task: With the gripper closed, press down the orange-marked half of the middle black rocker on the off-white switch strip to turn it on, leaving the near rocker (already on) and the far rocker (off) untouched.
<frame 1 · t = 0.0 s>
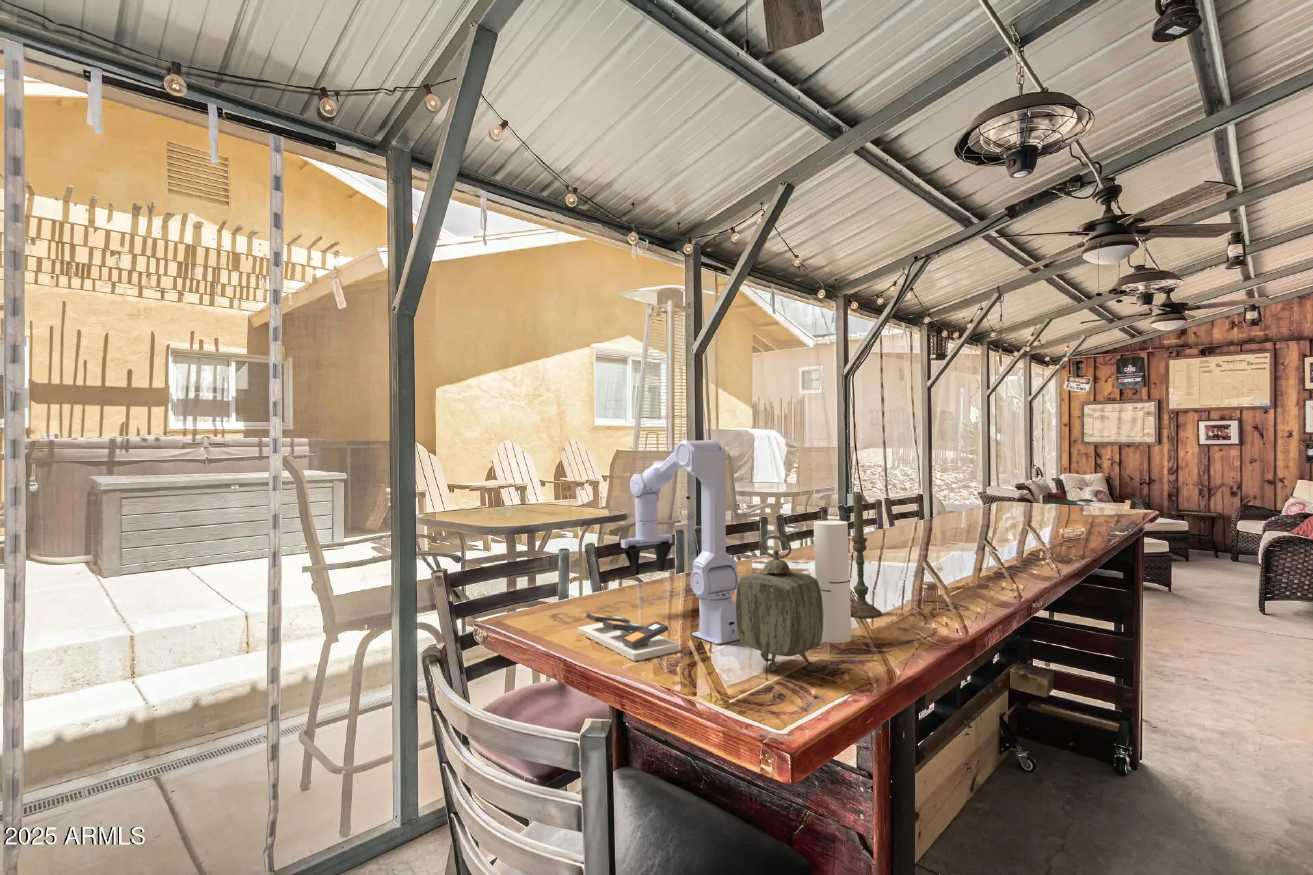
hand: (648, 573, 169), 10 cm above the table, tool pointing down, fingers open, 7 cm apart
switch strip: (626, 641, 143), on the table
rocker far: (608, 618, 150), point 3 cm above the table, hinge at 14.0°
tabletop clock: (778, 669, 123), on the table
cylindrical container: (834, 638, 142), on the table
candlestick holder: (861, 614, 161), on the table
rocker near: (644, 634, 137), point 3 cm above the table, hinge at -14.0°
rocker middle: (625, 626, 143), point 3 cm above the table, hinge at 14.0°
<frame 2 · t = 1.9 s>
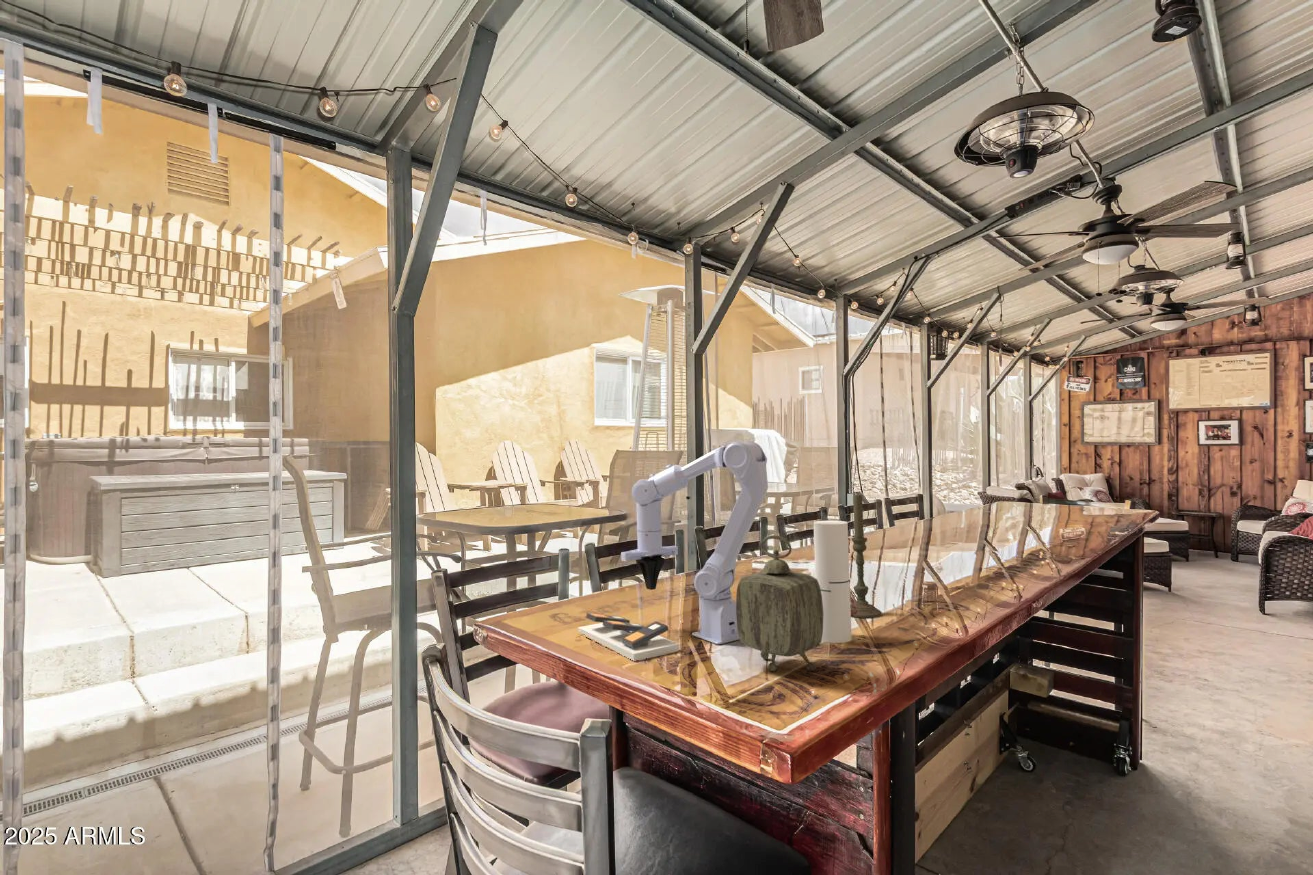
hand: (651, 588, 153), 9 cm above the table, tool pointing down, fingers closed
nothing on the table moved.
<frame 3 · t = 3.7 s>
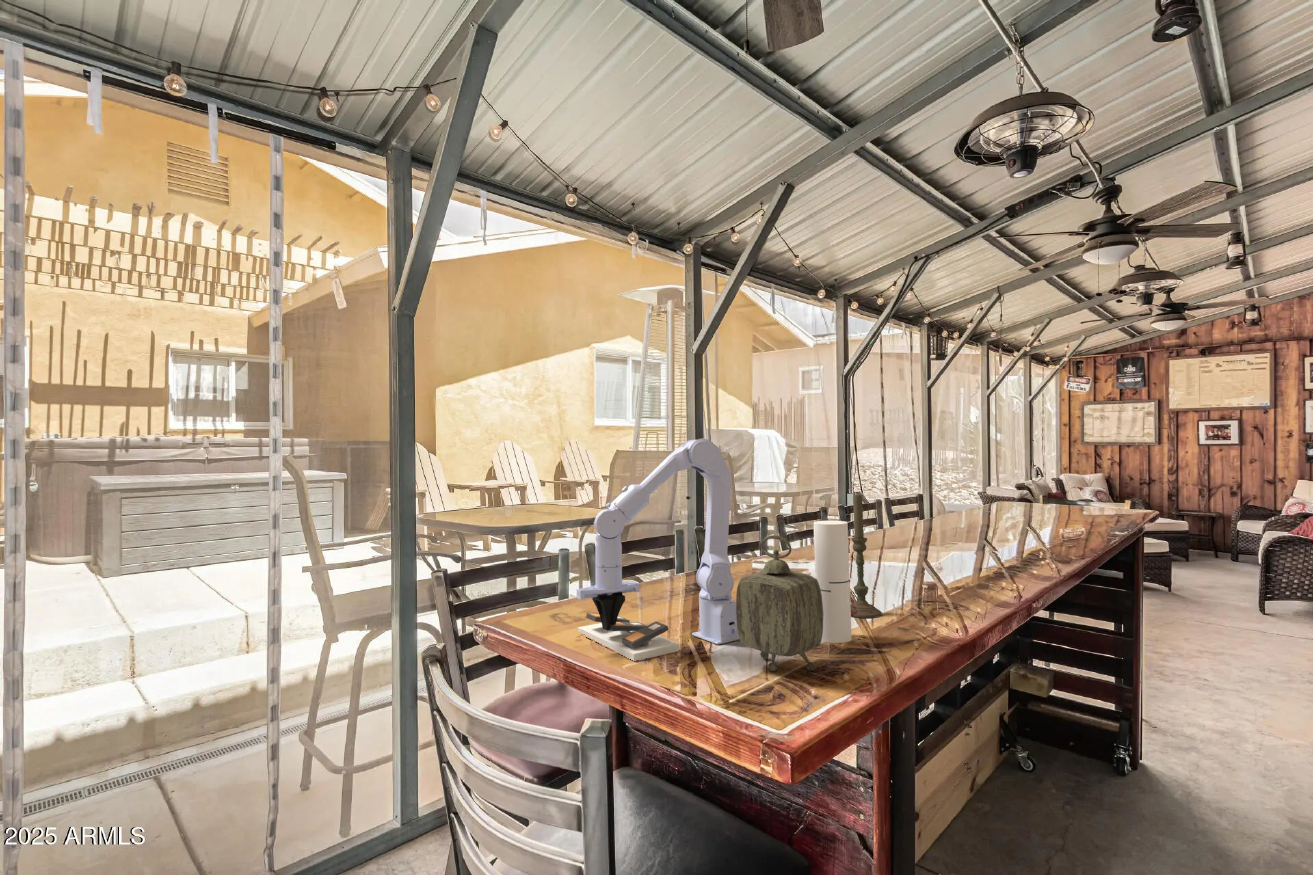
hand: (608, 628, 141), 4 cm above the table, tool pointing down, fingers closed, pressing on rocker middle
rocker middle: (625, 626, 143), point 3 cm above the table, hinge at 9.4°, touching gripper
everything else where it was.
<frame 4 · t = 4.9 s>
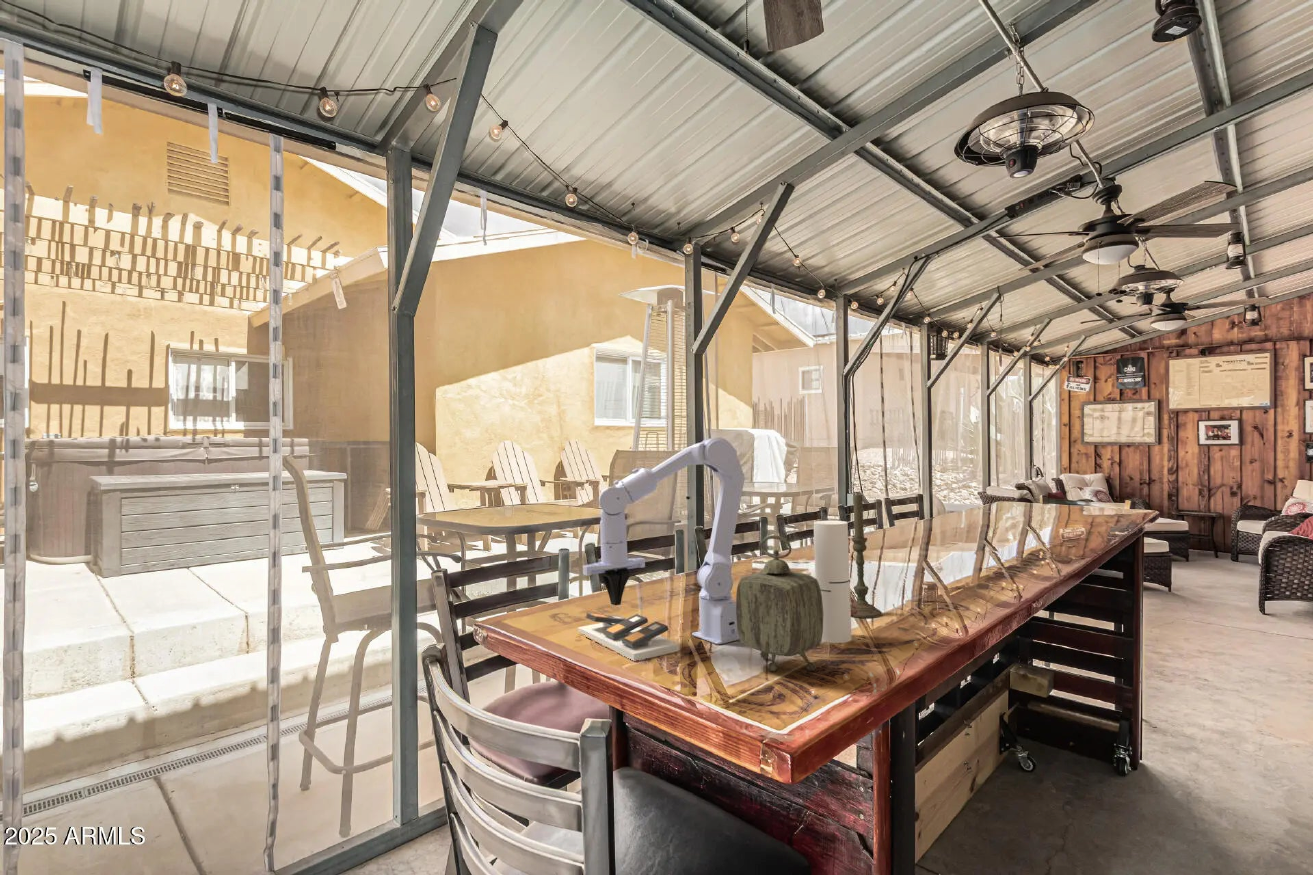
hand: (615, 604, 143), 8 cm above the table, tool pointing down, fingers closed
rocker middle: (625, 626, 143), point 3 cm above the table, hinge at -14.4°
everything else where it was.
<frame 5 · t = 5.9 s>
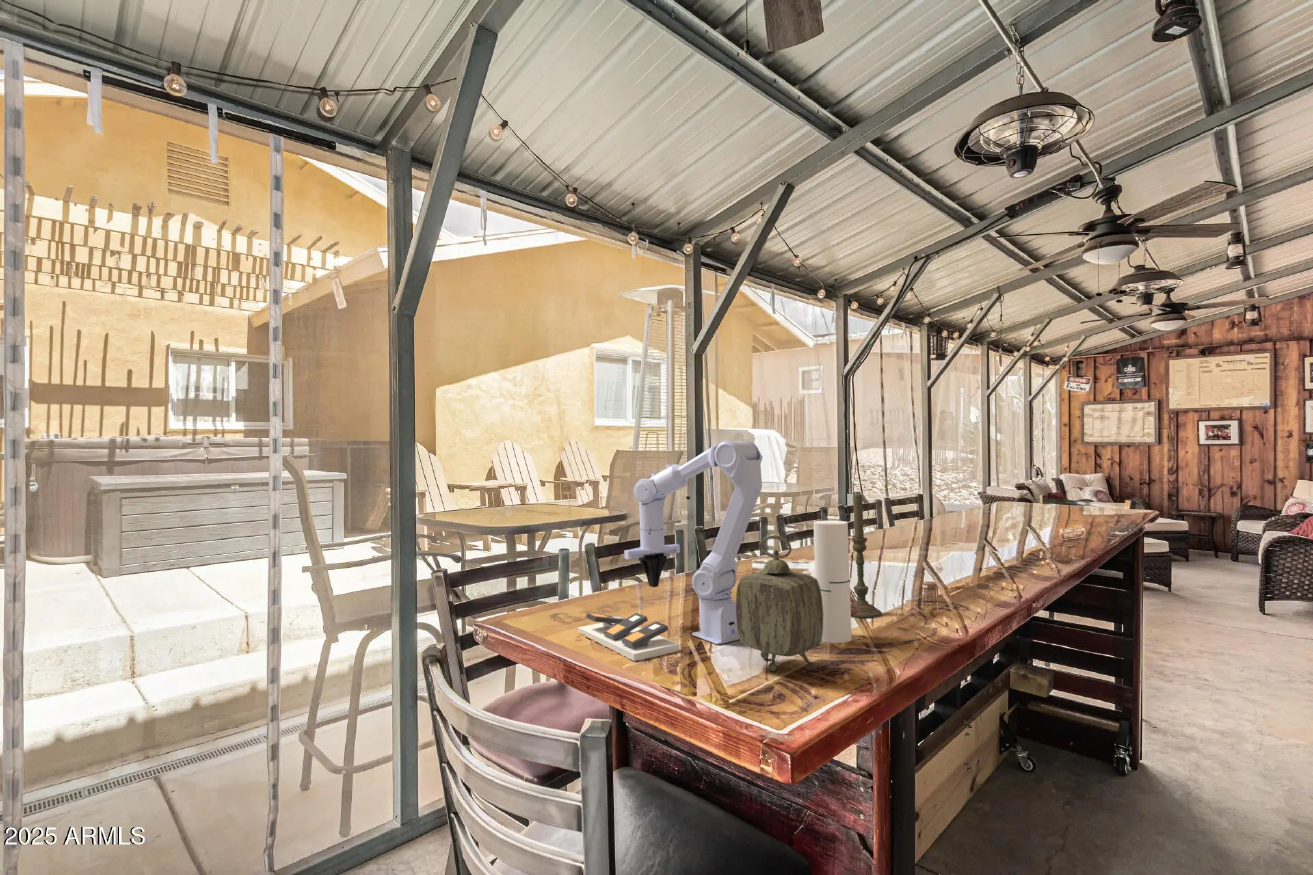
hand: (653, 586, 156), 9 cm above the table, tool pointing down, fingers closed
rocker middle: (625, 626, 143), point 3 cm above the table, hinge at -18.8°, touching switch strip
everything else where it was.
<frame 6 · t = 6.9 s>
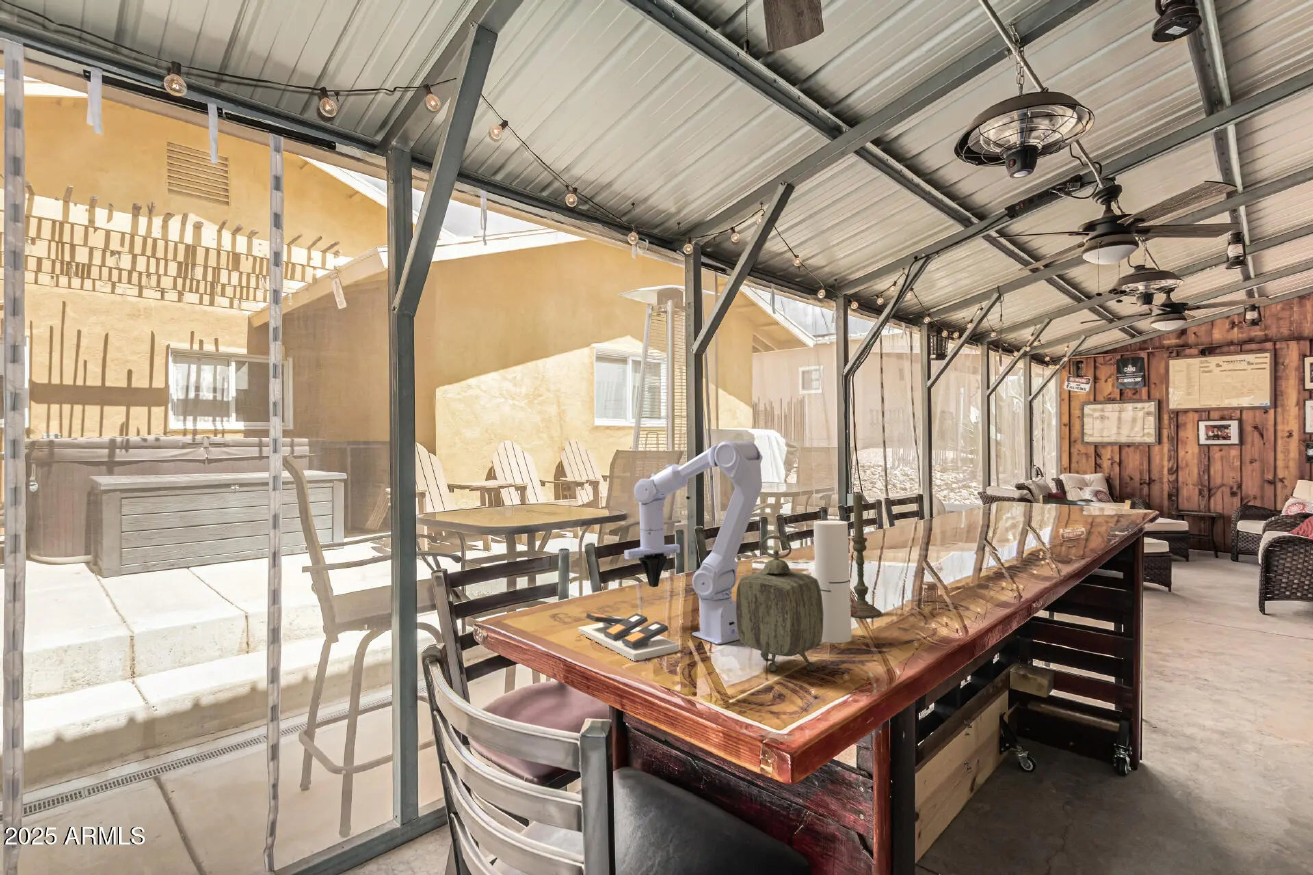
hand: (653, 586, 156), 9 cm above the table, tool pointing down, fingers closed
rocker middle: (625, 626, 143), point 3 cm above the table, hinge at -17.4°
everything else where it was.
at the end: rocker middle at -17° (first picture: +14°); rocker near at -14° (first picture: -14°); rocker far at +14° (first picture: +14°) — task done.
